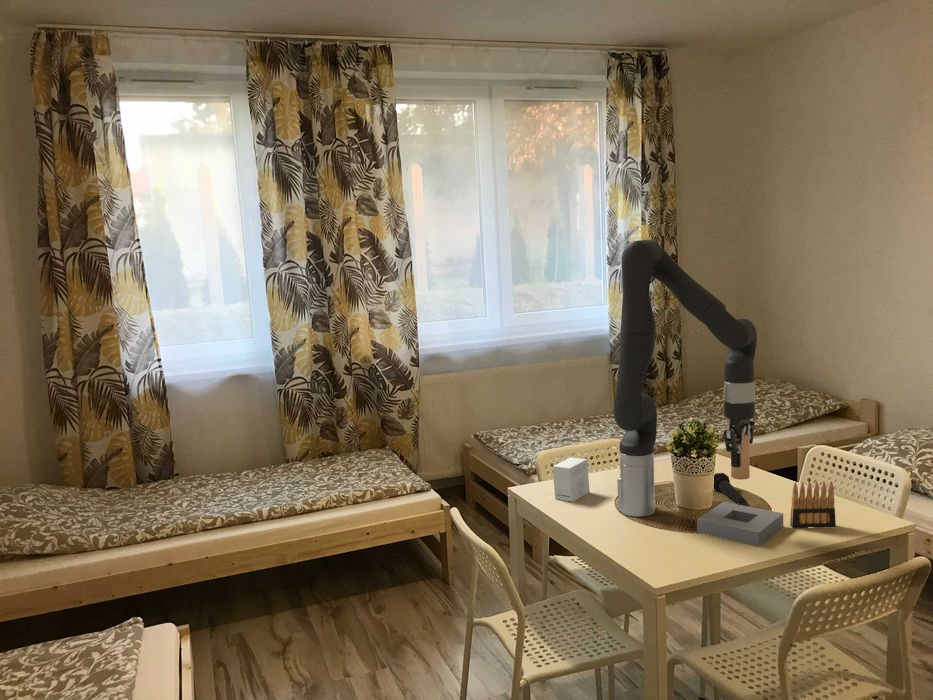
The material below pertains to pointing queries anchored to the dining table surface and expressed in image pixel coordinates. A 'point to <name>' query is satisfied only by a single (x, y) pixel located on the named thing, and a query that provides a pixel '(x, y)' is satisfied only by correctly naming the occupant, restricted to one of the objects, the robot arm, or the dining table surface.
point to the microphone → (727, 488)
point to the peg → (742, 461)
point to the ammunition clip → (813, 507)
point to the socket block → (740, 523)
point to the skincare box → (571, 479)
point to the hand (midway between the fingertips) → (739, 464)
